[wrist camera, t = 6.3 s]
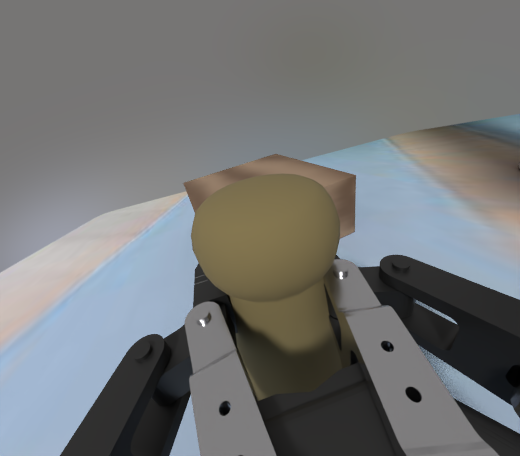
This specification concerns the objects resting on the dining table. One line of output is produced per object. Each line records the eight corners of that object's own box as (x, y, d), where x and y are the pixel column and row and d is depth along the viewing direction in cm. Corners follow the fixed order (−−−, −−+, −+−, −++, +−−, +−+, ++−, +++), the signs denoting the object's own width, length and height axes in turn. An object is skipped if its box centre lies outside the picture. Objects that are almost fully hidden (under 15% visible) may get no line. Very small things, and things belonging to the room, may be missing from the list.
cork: (244, 326, 15) (188, 177, 10) (329, 311, 15) (320, 149, 10) (242, 441, 10) (121, 260, 5) (372, 423, 10) (407, 204, 4)
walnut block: (281, 190, 35) (275, 153, 32) (354, 231, 22) (355, 175, 19) (198, 221, 32) (183, 182, 29) (226, 290, 19) (202, 233, 16)
